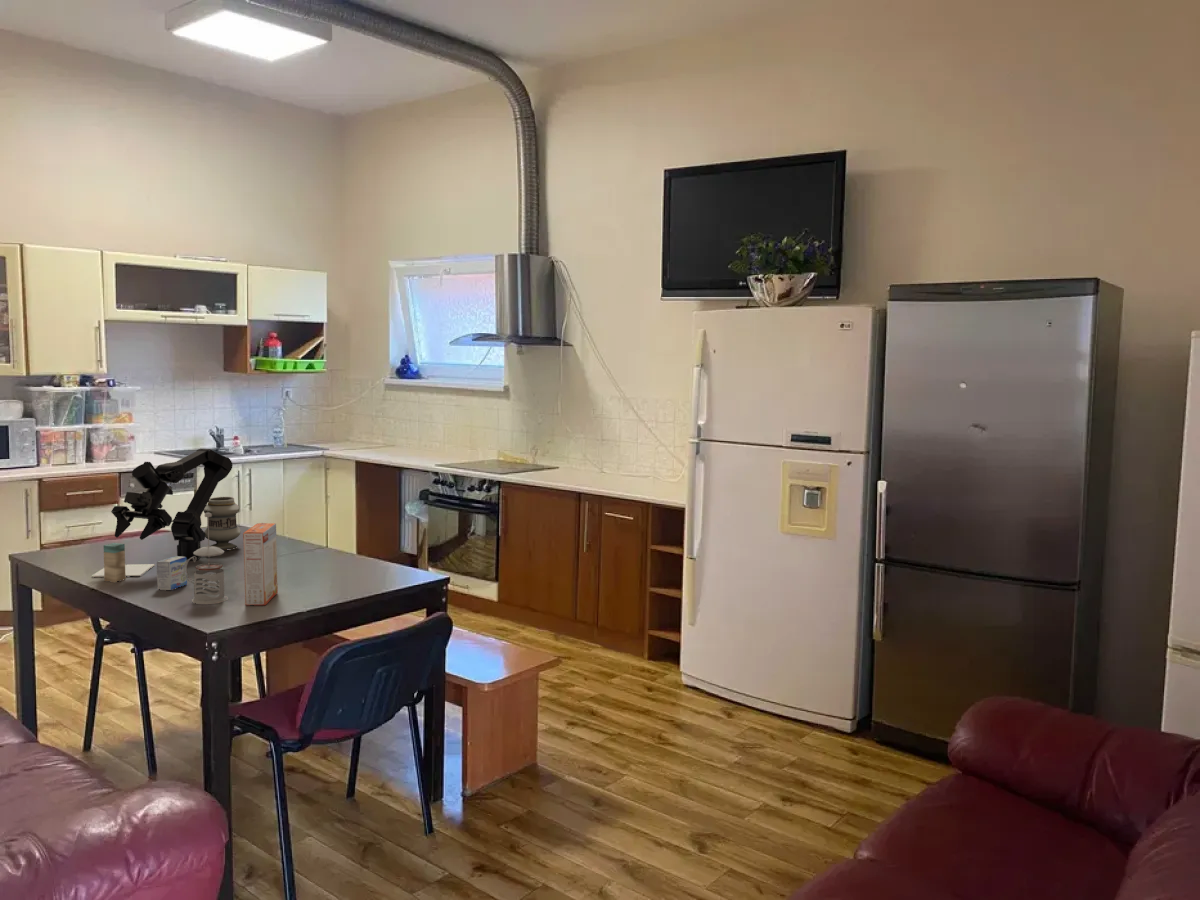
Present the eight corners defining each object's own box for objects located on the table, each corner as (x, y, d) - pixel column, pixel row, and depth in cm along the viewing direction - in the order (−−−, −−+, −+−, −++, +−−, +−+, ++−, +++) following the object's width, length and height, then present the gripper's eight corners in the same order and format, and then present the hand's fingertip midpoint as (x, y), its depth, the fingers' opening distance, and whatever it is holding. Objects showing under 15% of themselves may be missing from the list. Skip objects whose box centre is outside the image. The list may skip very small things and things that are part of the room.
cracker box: (257, 593, 274) (256, 522, 272) (278, 593, 274) (277, 522, 272) (243, 606, 260) (242, 531, 258) (265, 606, 261) (264, 531, 258)
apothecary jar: (196, 550, 329) (195, 499, 327) (217, 544, 341) (217, 494, 339) (227, 552, 326) (226, 501, 325) (247, 546, 338) (246, 496, 336)
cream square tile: (154, 566, 305) (154, 564, 304) (140, 576, 290) (140, 575, 290) (108, 566, 302) (108, 564, 302) (91, 577, 287) (91, 575, 287)
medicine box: (170, 591, 274) (169, 562, 273) (157, 590, 275) (156, 561, 274) (187, 585, 282) (187, 556, 281) (174, 583, 283) (173, 555, 282)
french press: (222, 604, 261) (220, 515, 259) (178, 604, 260) (176, 515, 258) (232, 595, 271) (231, 509, 269) (191, 595, 270) (189, 509, 268)
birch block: (114, 578, 287) (113, 543, 286) (125, 579, 286) (124, 544, 285) (104, 581, 283) (103, 545, 282) (115, 582, 282) (114, 546, 281)
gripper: (114, 480, 295) (88, 520, 286) (165, 483, 290) (139, 524, 281) (134, 501, 303) (108, 541, 294) (183, 505, 299) (158, 545, 289)
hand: (128, 537), depth 289 cm, fingers open, 9 cm apart
